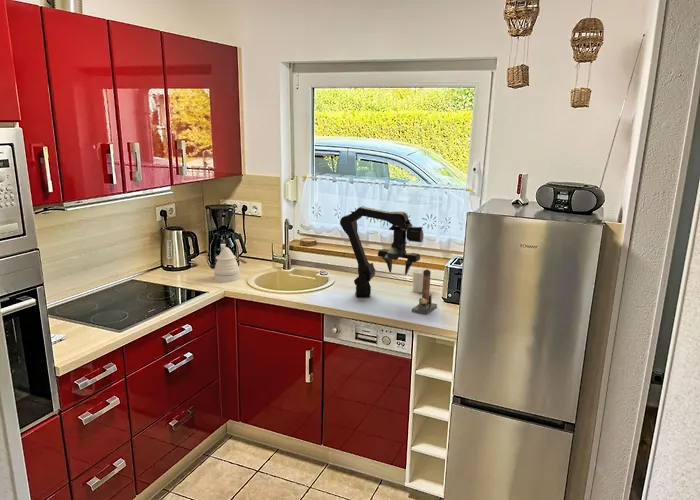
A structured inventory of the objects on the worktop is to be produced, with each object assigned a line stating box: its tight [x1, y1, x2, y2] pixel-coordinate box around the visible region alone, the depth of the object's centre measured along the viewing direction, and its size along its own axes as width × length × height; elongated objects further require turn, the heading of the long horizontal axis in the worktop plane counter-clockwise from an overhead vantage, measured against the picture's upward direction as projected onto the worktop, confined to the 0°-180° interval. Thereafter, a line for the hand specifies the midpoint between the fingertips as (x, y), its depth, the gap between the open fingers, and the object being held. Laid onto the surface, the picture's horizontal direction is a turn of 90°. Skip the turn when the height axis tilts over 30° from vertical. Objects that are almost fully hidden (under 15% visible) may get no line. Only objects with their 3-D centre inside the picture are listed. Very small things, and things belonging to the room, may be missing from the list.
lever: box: [421, 268, 432, 303], centre depth 231 cm, size 3×4×15 cm
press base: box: [411, 294, 438, 315], centre depth 231 cm, size 7×12×6 cm, turn 150°
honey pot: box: [213, 243, 241, 283], centre depth 269 cm, size 13×13×18 cm
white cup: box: [412, 268, 426, 294], centre depth 256 cm, size 8×8×10 cm
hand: (398, 273), depth 239 cm, fingers open, 7 cm apart
